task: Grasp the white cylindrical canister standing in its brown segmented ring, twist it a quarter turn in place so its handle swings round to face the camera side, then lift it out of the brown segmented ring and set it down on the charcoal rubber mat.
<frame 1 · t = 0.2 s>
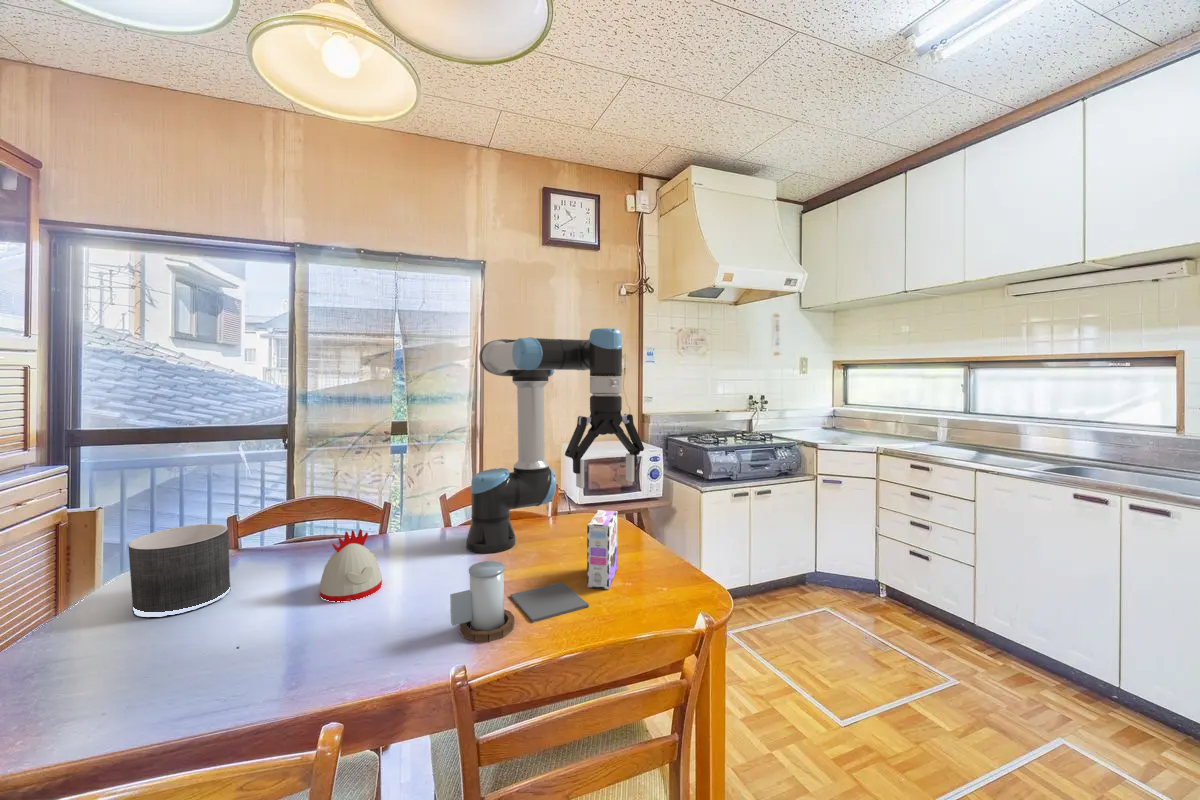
hand: (605, 484, 115), 28 cm above the table, fingers open, 13 cm apart
white cylindrical canister: (478, 599, 102), in the brown segmented ring
candy box: (603, 578, 128), on the table
white chicken figure: (351, 590, 121), on the table
brown segmented ring: (487, 627, 103), on the table
mat: (548, 601, 115), on the table
planter: (184, 601, 116), on the table
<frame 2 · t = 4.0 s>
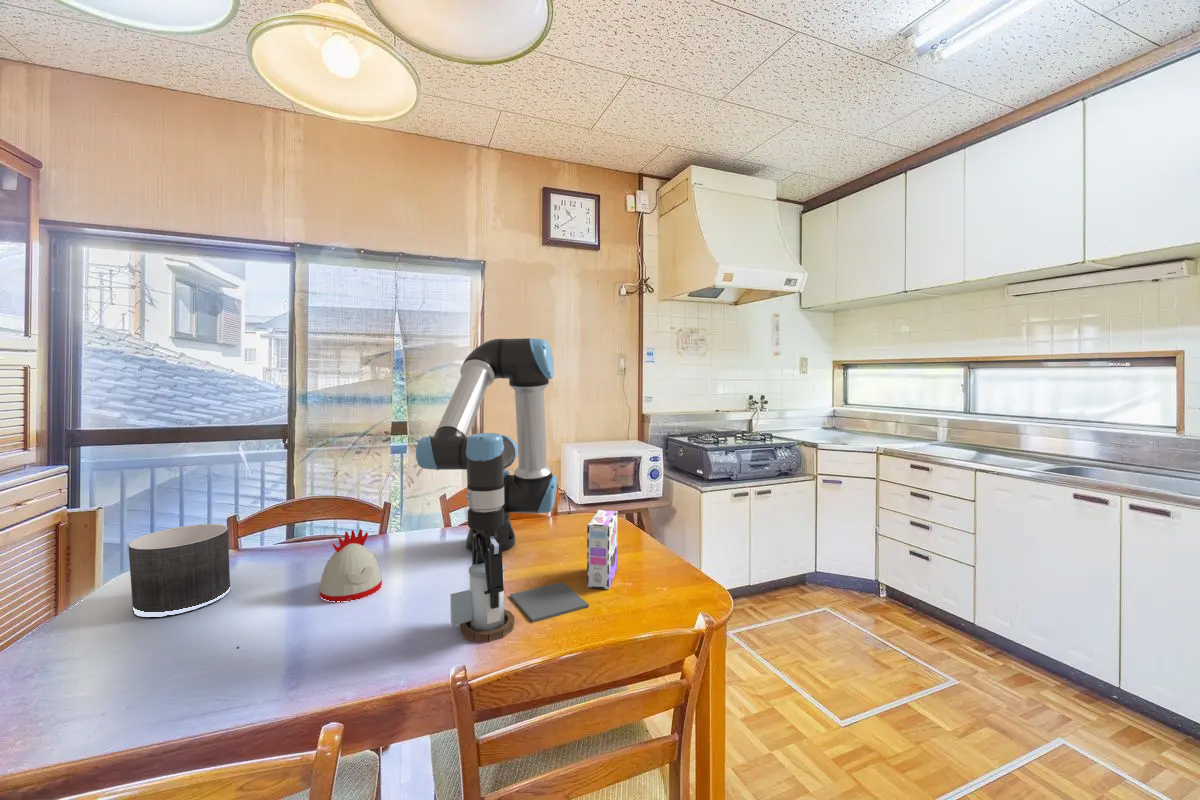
hand: (487, 613, 103), 3 cm above the table, fingers closed on white cylindrical canister, 7 cm apart
white cylindrical canister: (478, 599, 102), in the brown segmented ring, touching gripper
everything else where it was.
when the fingers open (4 cm above the table, at t = 10.9 s): white cylindrical canister stays where it is, resting on mat.
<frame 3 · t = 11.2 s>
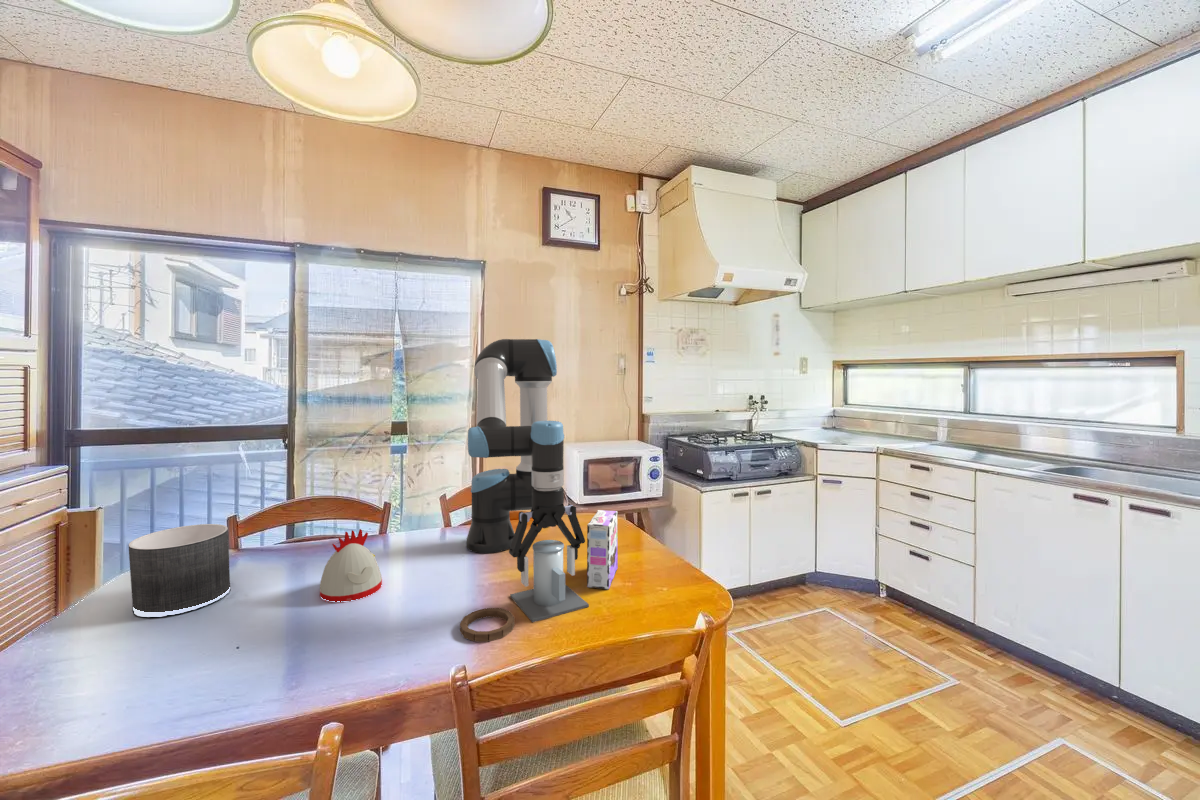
hand: (548, 578, 114), 6 cm above the table, fingers open, 11 cm apart
white cylindrical canister: (551, 575, 113), on the mat, point 7 cm above the table
everything else where it was.
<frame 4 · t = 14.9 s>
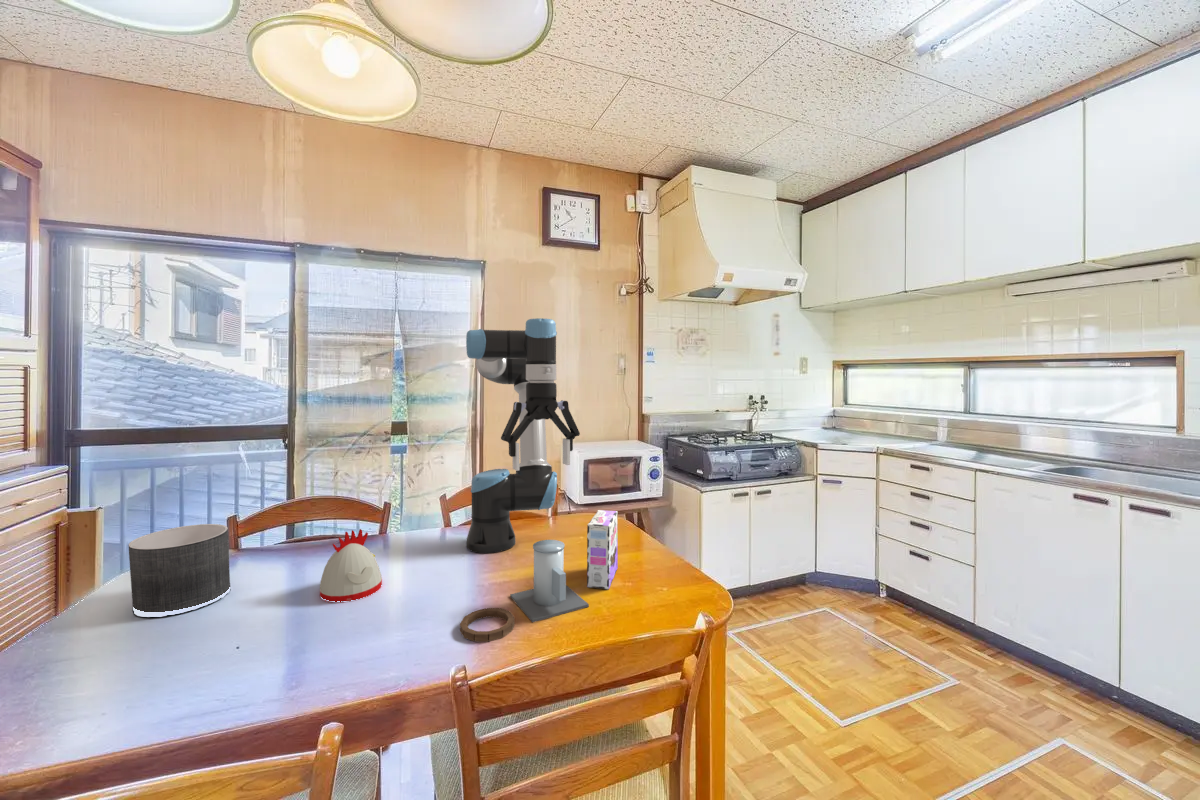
hand: (541, 467, 121), 31 cm above the table, fingers open, 13 cm apart
nothing on the table moved.
at the end: white cylindrical canister inside the target area on the mat (0.1 cm from its centre), point 7.1 cm above the mat's base; white cylindrical canister tilted 1°; the gripper is holding nothing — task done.
